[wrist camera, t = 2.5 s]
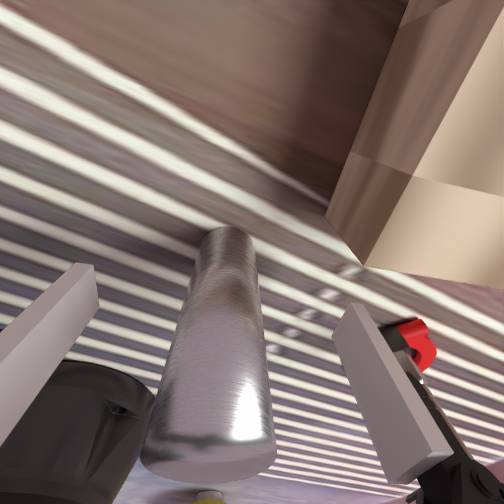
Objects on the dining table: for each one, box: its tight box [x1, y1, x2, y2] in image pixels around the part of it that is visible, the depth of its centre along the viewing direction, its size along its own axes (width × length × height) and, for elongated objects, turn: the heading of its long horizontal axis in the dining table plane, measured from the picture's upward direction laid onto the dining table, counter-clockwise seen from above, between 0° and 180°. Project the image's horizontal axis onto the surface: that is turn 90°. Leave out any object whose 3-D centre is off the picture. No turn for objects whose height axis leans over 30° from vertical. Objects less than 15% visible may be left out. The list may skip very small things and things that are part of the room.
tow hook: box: [379, 319, 474, 460], centre depth 19 cm, size 8×13×9 cm
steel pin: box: [140, 227, 277, 484], centre depth 12 cm, size 4×4×12 cm
